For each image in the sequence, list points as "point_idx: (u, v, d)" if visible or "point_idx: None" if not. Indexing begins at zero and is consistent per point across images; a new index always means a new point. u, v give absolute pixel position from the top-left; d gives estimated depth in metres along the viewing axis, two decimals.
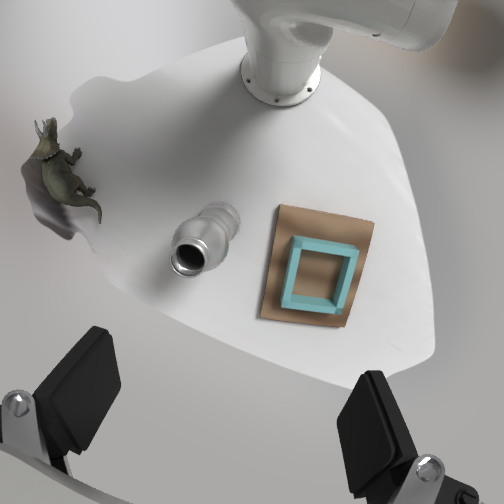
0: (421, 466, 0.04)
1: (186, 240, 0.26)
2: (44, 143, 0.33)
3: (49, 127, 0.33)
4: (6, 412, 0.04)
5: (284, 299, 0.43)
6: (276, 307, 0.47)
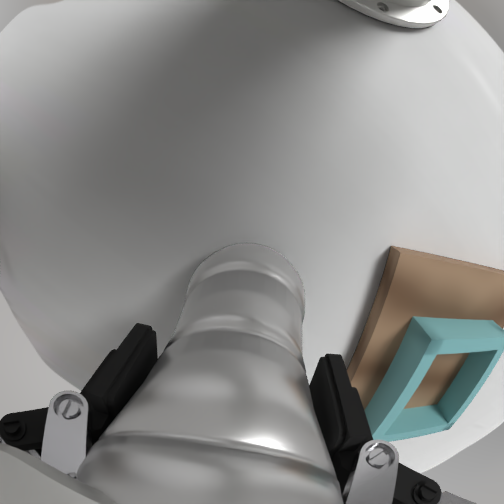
0: (370, 453, 0.05)
1: None
2: None
3: None
4: (56, 415, 0.05)
5: (375, 434, 0.17)
6: None
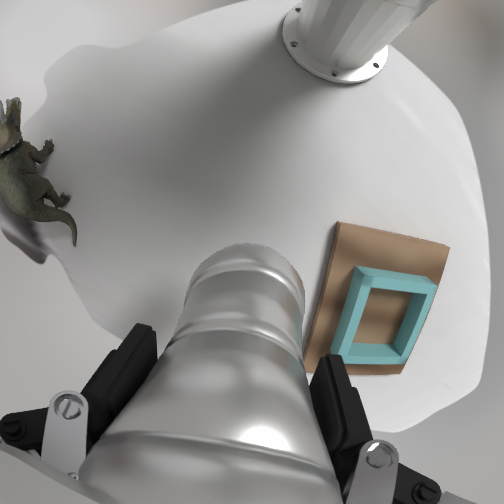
0: (370, 453, 0.05)
1: None
2: (2, 132, 0.19)
3: (9, 110, 0.19)
4: (56, 415, 0.05)
5: (340, 353, 0.29)
6: None
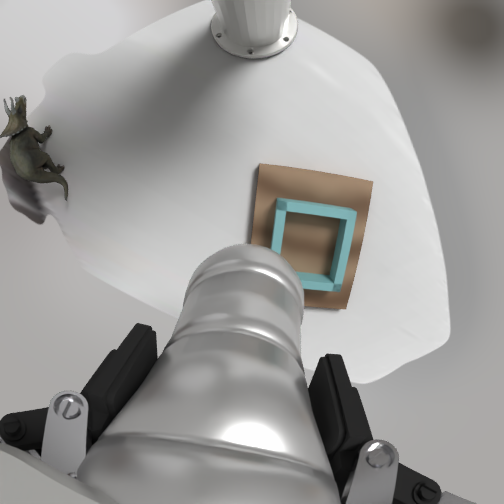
0: (370, 453, 0.05)
1: None
2: (12, 121, 0.26)
3: (18, 105, 0.26)
4: (56, 415, 0.05)
5: None
6: None
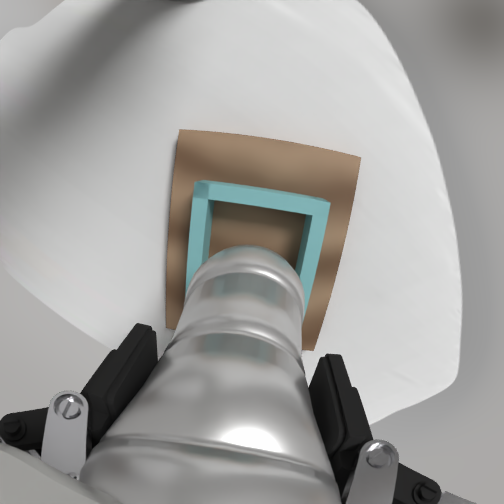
0: (370, 453, 0.05)
1: None
2: None
3: None
4: (56, 415, 0.05)
5: None
6: None
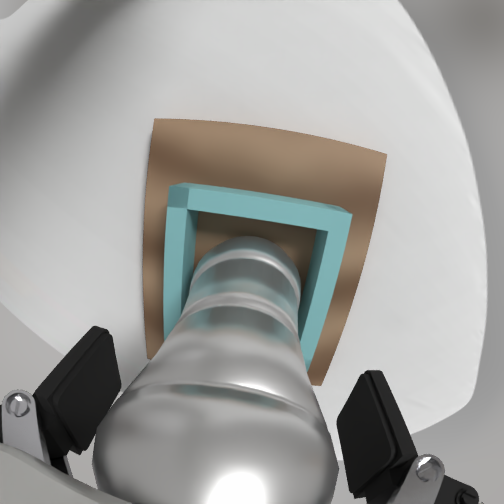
0: (421, 466, 0.04)
1: None
2: None
3: None
4: (6, 412, 0.04)
5: (167, 334, 0.18)
6: None
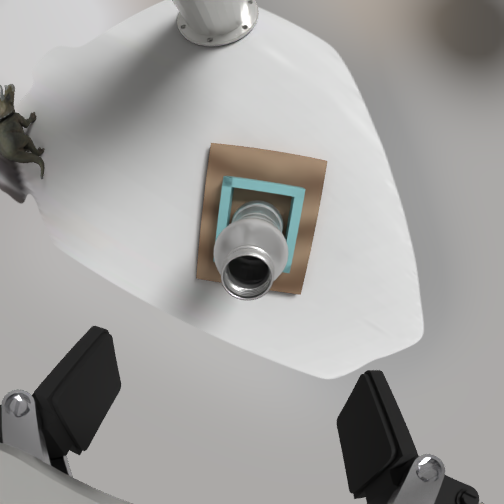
0: (421, 466, 0.04)
1: (244, 250, 0.19)
2: (1, 106, 0.26)
3: (7, 92, 0.26)
4: (6, 412, 0.04)
5: None
6: (213, 265, 0.40)
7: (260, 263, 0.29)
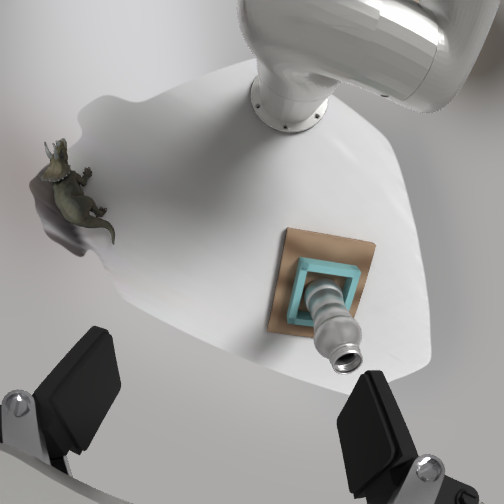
0: (421, 466, 0.04)
1: (347, 348, 0.29)
2: (55, 165, 0.36)
3: (59, 148, 0.35)
4: (6, 412, 0.04)
5: (290, 316, 0.46)
6: (282, 322, 0.50)
7: None
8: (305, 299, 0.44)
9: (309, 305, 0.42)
